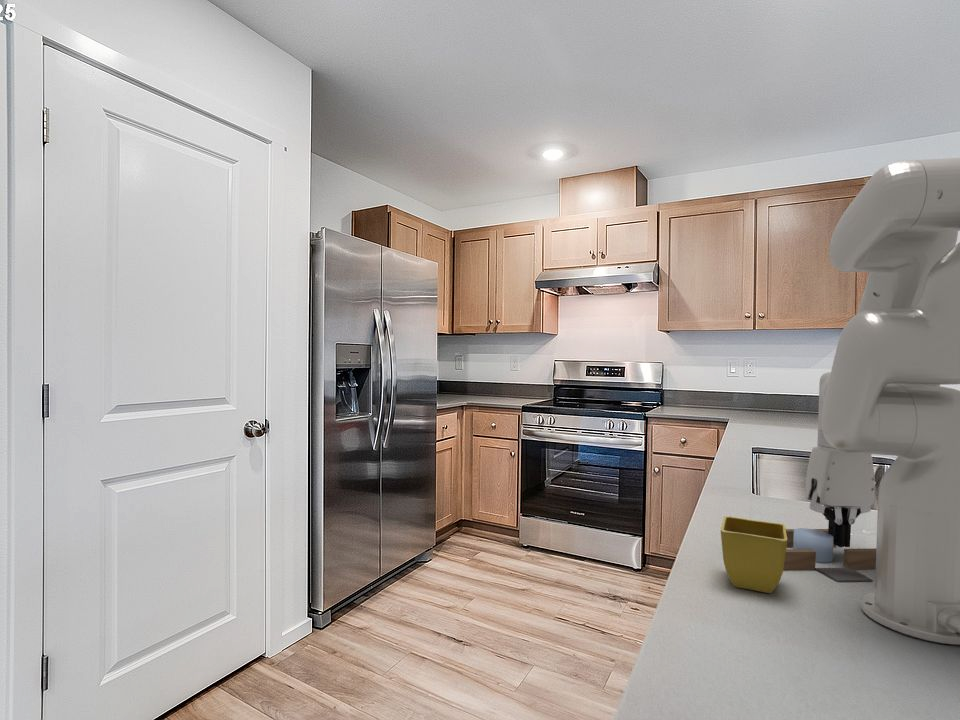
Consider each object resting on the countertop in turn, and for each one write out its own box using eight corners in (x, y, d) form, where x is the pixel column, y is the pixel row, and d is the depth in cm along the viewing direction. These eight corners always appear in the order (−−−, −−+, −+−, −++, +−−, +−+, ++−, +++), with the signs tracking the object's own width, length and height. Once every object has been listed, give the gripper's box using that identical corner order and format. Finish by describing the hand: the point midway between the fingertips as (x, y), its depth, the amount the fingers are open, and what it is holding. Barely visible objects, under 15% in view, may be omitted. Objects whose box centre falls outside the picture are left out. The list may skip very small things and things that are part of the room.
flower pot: (718, 589, 81) (720, 529, 81) (722, 569, 89) (723, 514, 88) (785, 603, 77) (787, 540, 77) (783, 581, 84) (785, 524, 84)
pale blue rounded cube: (841, 562, 93) (842, 539, 93) (808, 563, 92) (809, 539, 92) (816, 549, 99) (816, 528, 99) (785, 550, 98) (786, 528, 98)
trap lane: (907, 580, 86) (908, 555, 86) (782, 582, 84) (782, 557, 84) (813, 536, 107) (814, 515, 107) (711, 536, 105) (711, 516, 104)
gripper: (865, 438, 100) (861, 537, 100) (788, 437, 99) (785, 537, 99) (899, 445, 92) (896, 552, 93) (817, 444, 91) (814, 552, 91)
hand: (838, 544), depth 96 cm, fingers closed
